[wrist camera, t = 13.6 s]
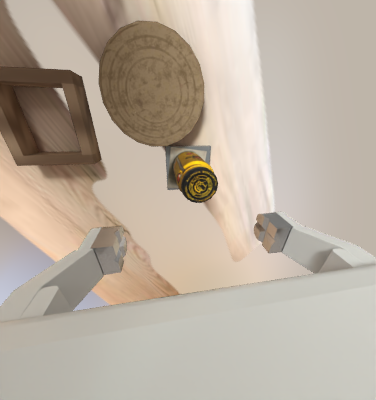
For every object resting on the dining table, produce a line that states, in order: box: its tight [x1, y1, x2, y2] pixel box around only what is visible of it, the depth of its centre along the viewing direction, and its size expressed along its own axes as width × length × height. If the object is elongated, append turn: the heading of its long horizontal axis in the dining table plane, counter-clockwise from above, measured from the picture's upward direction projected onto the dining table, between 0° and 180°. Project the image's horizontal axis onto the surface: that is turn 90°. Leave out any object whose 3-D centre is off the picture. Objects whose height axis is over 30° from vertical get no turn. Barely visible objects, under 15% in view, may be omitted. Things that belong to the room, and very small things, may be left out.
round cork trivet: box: [99, 21, 204, 146], centre depth 25 cm, size 16×16×3 cm
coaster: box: [165, 146, 211, 190], centre depth 32 cm, size 9×9×1 cm
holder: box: [0, 67, 101, 166], centre depth 24 cm, size 13×12×4 cm
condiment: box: [167, 147, 218, 203], centre depth 27 cm, size 7×8×12 cm
